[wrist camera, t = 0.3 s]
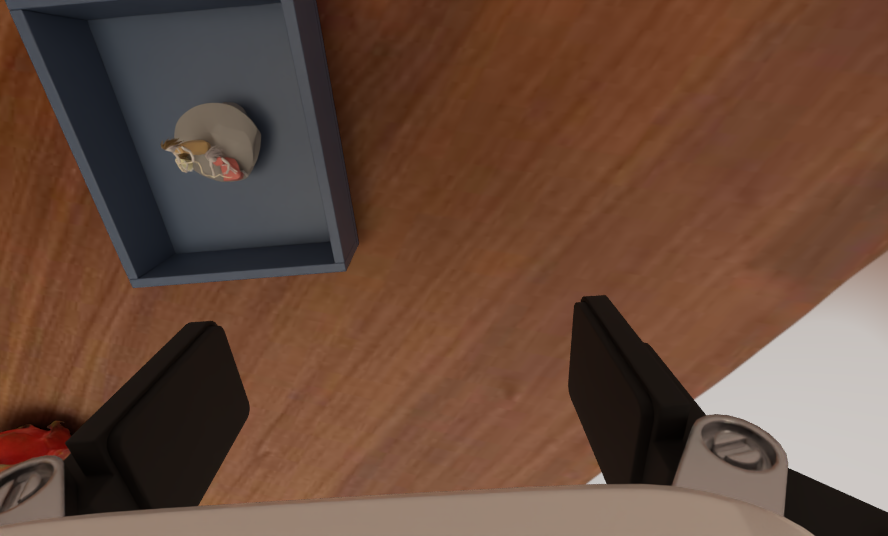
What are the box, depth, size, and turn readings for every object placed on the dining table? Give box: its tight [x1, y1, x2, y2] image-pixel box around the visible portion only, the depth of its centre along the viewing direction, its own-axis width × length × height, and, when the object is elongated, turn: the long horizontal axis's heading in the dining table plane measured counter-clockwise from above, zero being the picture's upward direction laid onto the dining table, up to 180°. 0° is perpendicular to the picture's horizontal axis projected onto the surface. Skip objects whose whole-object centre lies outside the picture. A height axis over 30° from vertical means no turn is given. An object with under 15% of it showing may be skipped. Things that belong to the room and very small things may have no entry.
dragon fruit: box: [0, 421, 71, 472], centre depth 33 cm, size 8×8×12 cm
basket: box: [5, 0, 359, 288], centre depth 24 cm, size 15×13×5 cm
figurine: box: [160, 102, 261, 182], centre depth 23 cm, size 5×4×6 cm
